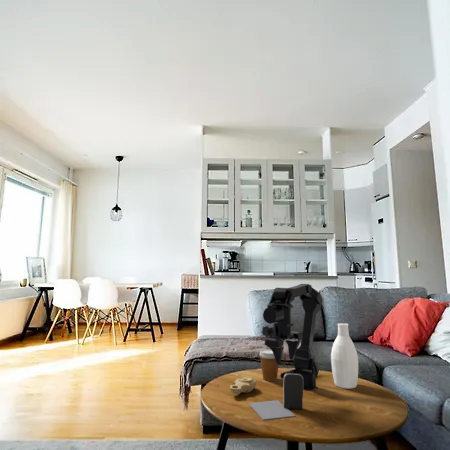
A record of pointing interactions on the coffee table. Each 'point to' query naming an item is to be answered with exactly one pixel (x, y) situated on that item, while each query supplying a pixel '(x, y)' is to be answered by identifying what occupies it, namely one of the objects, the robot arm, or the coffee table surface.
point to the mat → (271, 410)
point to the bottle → (344, 359)
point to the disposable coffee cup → (268, 365)
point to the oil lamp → (243, 385)
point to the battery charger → (293, 391)
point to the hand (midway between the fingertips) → (284, 361)
